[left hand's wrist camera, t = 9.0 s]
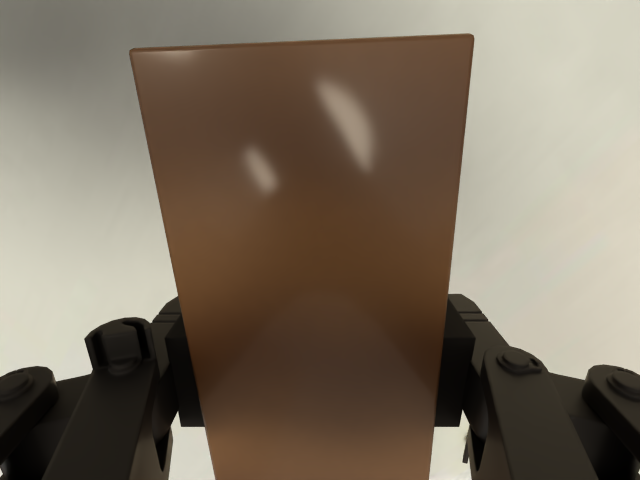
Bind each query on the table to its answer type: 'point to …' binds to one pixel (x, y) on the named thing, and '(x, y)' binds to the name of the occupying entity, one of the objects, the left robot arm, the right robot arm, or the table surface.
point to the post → (311, 242)
